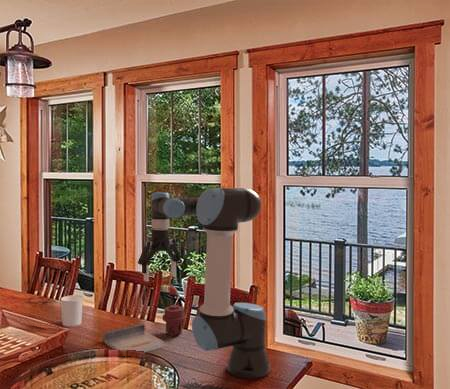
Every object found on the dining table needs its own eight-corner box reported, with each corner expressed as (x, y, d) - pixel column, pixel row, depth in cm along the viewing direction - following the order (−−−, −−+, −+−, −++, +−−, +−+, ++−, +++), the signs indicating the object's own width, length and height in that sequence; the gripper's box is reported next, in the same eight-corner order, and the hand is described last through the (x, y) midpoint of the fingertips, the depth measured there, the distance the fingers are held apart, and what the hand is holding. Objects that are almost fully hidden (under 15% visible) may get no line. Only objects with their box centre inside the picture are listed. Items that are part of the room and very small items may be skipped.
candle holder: (83, 325, 201) (83, 299, 201) (60, 328, 198) (60, 301, 197) (82, 319, 211) (82, 294, 210) (60, 321, 207) (60, 296, 207)
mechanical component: (188, 331, 196) (181, 339, 186) (166, 329, 198) (159, 337, 188) (188, 303, 195) (181, 310, 186) (166, 302, 197) (159, 308, 188)
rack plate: (166, 346, 178) (166, 336, 178) (125, 357, 167) (125, 347, 166) (142, 332, 193) (142, 323, 193) (103, 341, 182) (103, 332, 182)
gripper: (179, 226, 199) (179, 273, 199) (129, 230, 182) (129, 281, 183) (189, 227, 193) (189, 276, 194) (138, 231, 177) (138, 284, 177)
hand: (160, 278), depth 188 cm, fingers open, 13 cm apart
